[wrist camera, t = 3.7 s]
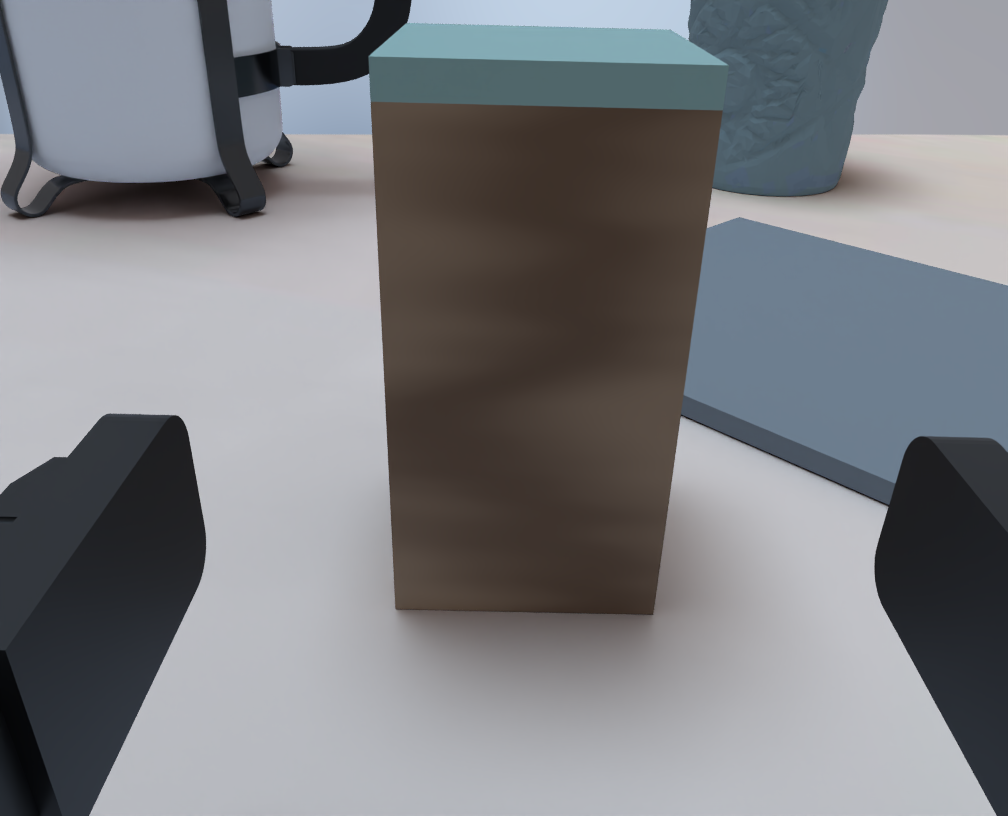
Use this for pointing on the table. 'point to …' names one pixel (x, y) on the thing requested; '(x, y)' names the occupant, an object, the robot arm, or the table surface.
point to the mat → (842, 353)
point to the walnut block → (537, 304)
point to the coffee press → (160, 91)
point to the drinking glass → (786, 88)
